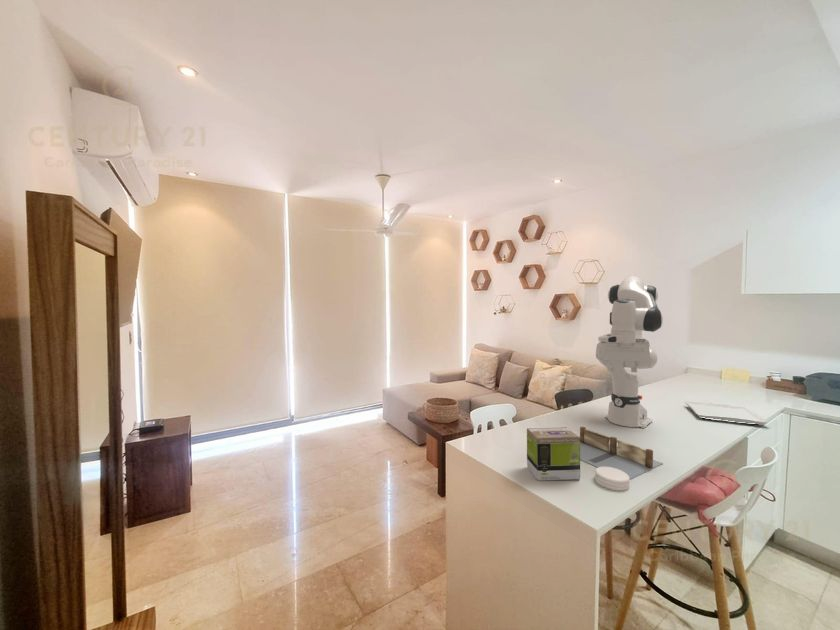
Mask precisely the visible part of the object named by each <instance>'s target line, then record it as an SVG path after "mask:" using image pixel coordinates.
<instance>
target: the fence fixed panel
mask: <svg viewBox="0 0 840 630" xmlns="http://www.w3.org/2000/svg"><path fill="white" fill-rule="evenodd" d="M579 437H580V442H581V443H587V444H590V445H593V446H595V447H598V448H601V449H603V450H606V451H609V444H610V454H613V455H616V454H617V447H618V443H617V442H616V441H617V440H618V438H617V437H615V436H607V435H604V434H601V433H599V432H595V431H592V430H590V429H588V428H587V427H584V426H580V427H579Z"/></svg>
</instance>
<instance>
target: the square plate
mask: <svg viewBox="0 0 840 630" xmlns="http://www.w3.org/2000/svg"><path fill="white" fill-rule="evenodd" d="M684 404H686V405H687V407H688V406H689V407H688V408H689V409H690V410H692V412H694V413H695V415H696V414H697V415H698V416H699V417H698V416H697V415H696V416H697V417H698V418H700V417H705V418H713V419H721V420H728V421H735V422H745V423H755V424H759V425H758V426H763V425H766V424H768V423H769V422H768V421H767V420H766V419H764V418H762V416H759V415H758V414H756V413H755V412H753V411H751V410H750V409H748V408H746V407H743V406H737V405H730V404H729V405H728V404H720V403H719V404H718V403H712V402H711V403H709V402H700V401H698V402H697V401H696V402H695V401H684ZM689 404H693V405H705V406H713V407H722V408H731V409H743V410H745V411H746V412H747V413H748V414H750V415H751V416H752V417H754V418H755V419H757V420H758V421H754V420H748V419H740V418H732V417H720V416H706V415H699V414H698V413H697V412H696V411H695V409H694V408H693V407H692V406H690V405H689Z"/></svg>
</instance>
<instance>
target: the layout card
mask: <svg viewBox="0 0 840 630" xmlns="http://www.w3.org/2000/svg"><path fill="white" fill-rule="evenodd" d="M617 450H618V446H617ZM580 462H584V463H587V464H588V465H591V466H593V467H595V468H598V467H612V468H616V469H619V470H621V471H623V472H625V473H626V474H627V475H628V476H629V478H630V480H633V479H634V478H636V477H639V476H641V475H643V474H645V473H647V472H650V471H651V470H653V469H655V468H657V467H660V466H662V465H664V462H661V461H658V460H657V459H653V468H647V467H646V466H645V465H643V464H640V463H638V462H635V461H632V460H630V459H627V458H625V457H622V456H619V455H617V454H616V455H613V454H610V443H609V451H606V450H603V449H601V448H598V447H595V446H593V445H590V444H587V443H581V442H580Z"/></svg>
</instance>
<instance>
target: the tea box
mask: <svg viewBox="0 0 840 630" xmlns="http://www.w3.org/2000/svg"><path fill="white" fill-rule="evenodd" d="M526 465H527V466H526V467H527V468H528V470H529V472H532V473H531V474H532V476H533V477H534V478H535V479H536V480H537V481H563V480H564V481H566V480H570V481H571V480H572V481H573V480H581V460H580V435H577V434H575V432H573V431H572V430H570V429H569V428H568V427H563V426H562V427H534V428H533V427H532V428H531V427H529V428H526Z"/></svg>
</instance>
